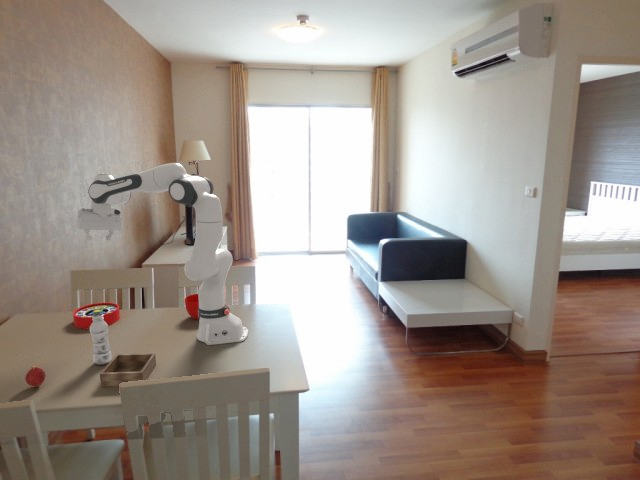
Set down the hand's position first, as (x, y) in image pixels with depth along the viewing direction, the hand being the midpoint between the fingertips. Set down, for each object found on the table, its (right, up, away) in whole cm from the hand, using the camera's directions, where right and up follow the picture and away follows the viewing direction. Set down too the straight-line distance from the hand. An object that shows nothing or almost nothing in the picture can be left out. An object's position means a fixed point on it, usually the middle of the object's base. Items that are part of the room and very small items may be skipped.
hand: (98, 239), depth 195 cm
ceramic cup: (+42, -39, +19) cm, 60 cm away
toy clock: (-7, -40, +13) cm, 43 cm away
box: (+32, -51, -38) cm, 71 cm away
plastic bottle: (+17, -49, -29) cm, 59 cm away
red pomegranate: (+2, -52, -46) cm, 69 cm away
